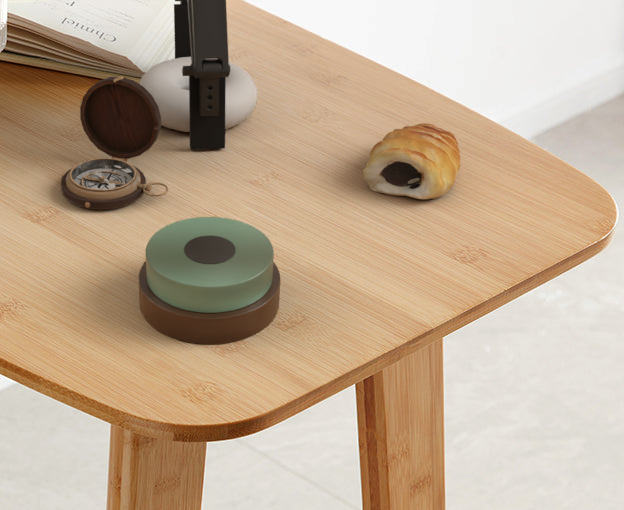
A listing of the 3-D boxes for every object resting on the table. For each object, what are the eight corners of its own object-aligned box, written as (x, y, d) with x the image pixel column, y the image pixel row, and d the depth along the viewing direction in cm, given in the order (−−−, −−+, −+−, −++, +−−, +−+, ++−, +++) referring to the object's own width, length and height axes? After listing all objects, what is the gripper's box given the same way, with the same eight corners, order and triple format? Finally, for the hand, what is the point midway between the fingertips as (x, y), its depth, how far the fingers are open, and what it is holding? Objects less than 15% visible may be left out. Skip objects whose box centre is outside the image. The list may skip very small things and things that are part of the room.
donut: (242, 148, 90) (268, 93, 98) (243, 109, 88) (269, 56, 96) (121, 132, 92) (157, 79, 99) (119, 93, 89) (155, 42, 97)
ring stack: (135, 266, 76) (133, 215, 74) (268, 259, 78) (270, 208, 75) (144, 349, 69) (142, 295, 67) (290, 339, 71) (292, 286, 68)
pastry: (395, 138, 93) (400, 96, 91) (475, 157, 91) (482, 114, 89) (356, 190, 86) (361, 145, 84) (442, 212, 84) (449, 166, 82)
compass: (47, 205, 82) (39, 113, 77) (89, 155, 88) (83, 67, 84) (153, 223, 80) (150, 131, 76) (188, 171, 87) (187, 83, 82)
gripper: (274, -110, 73) (265, 180, 86) (227, -199, 92) (225, 49, 105) (157, -110, 72) (165, 185, 84) (134, -201, 91) (143, 51, 104)
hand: (198, 110), depth 95 cm, fingers open, 12 cm apart
